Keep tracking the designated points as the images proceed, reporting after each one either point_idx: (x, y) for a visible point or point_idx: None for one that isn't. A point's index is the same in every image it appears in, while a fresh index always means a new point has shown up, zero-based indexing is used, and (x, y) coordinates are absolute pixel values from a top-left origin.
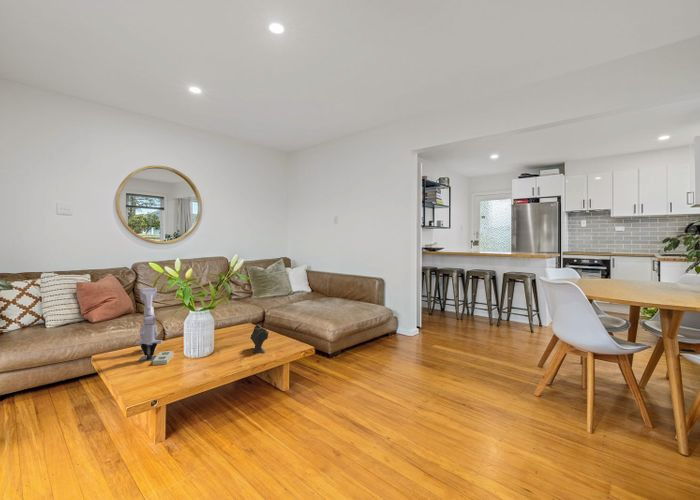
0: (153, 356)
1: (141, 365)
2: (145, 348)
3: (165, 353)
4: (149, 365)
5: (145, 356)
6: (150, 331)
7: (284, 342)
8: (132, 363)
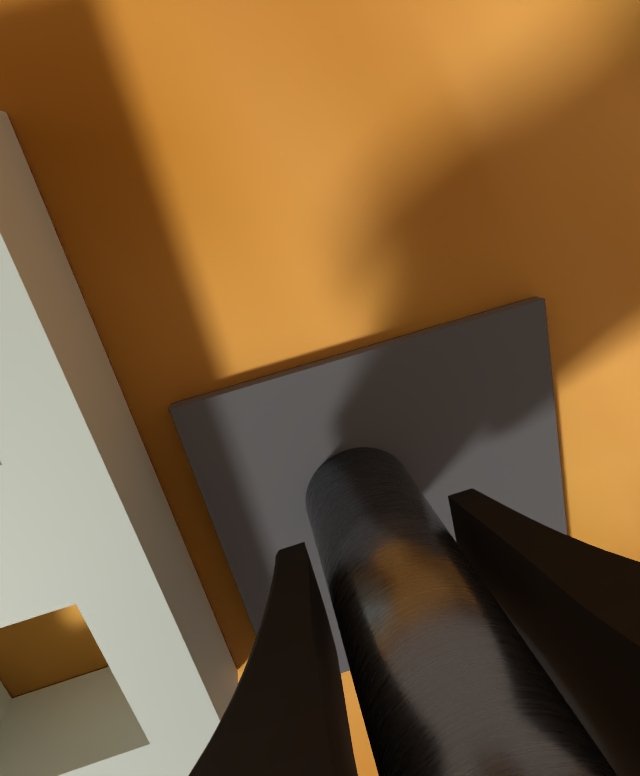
0: None
1: (331, 113)
2: (589, 660)
3: (77, 741)
4: (110, 120)
5: None
6: None
7: None
8: (601, 239)
